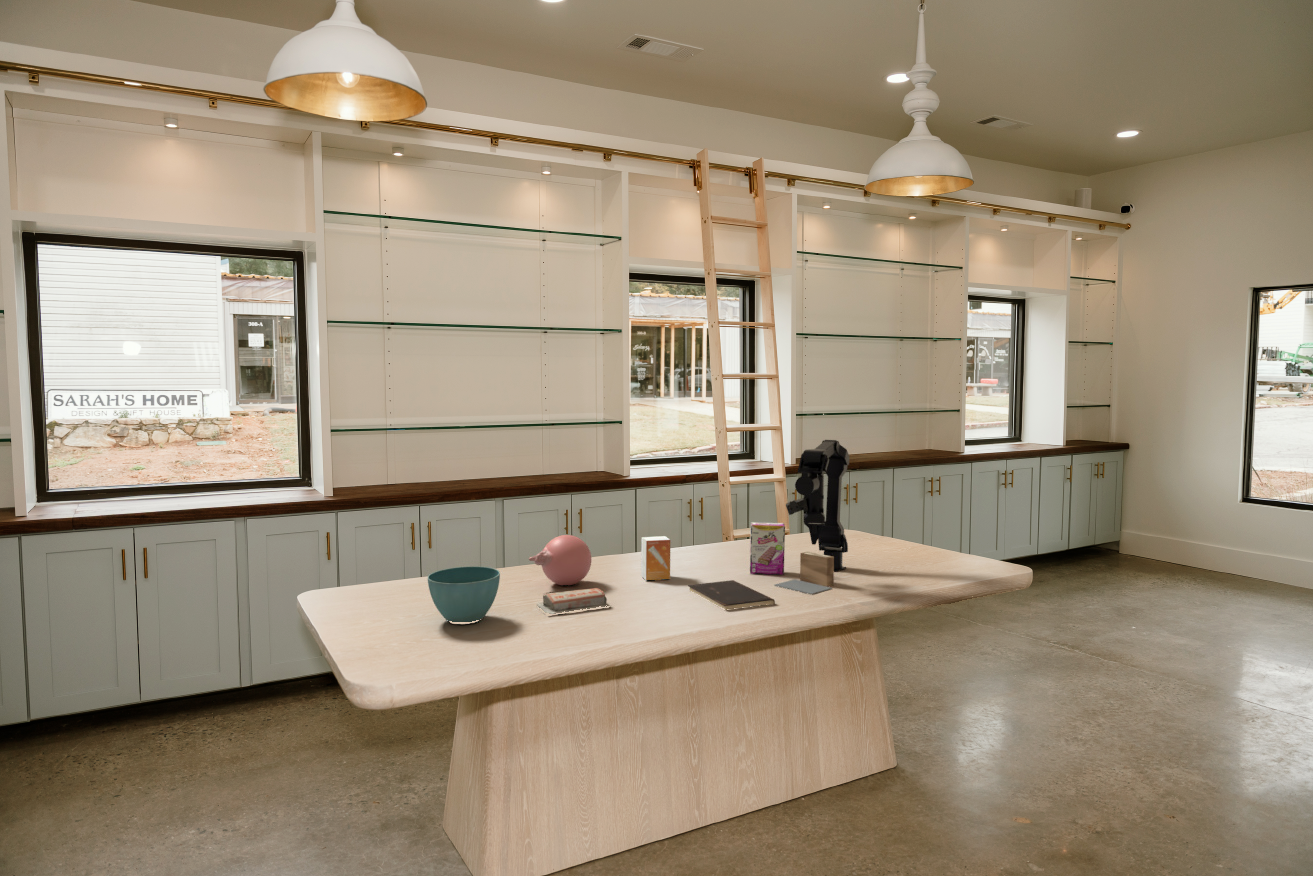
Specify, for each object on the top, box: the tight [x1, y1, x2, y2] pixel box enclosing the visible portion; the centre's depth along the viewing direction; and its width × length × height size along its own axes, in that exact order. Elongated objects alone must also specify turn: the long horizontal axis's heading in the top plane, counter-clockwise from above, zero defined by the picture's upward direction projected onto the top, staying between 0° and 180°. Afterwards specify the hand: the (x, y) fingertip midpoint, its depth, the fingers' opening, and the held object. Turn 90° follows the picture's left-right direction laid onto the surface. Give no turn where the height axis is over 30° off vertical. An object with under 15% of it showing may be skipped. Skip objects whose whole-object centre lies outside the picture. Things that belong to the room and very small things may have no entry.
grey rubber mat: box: [773, 579, 833, 595], centre depth 236 cm, size 10×14×1 cm
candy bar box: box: [749, 521, 786, 576], centre depth 253 cm, size 11×5×16 cm, turn 84°
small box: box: [640, 535, 671, 581], centre depth 246 cm, size 8×6×13 cm
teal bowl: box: [427, 565, 501, 622], centre depth 201 cm, size 18×18×12 cm
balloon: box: [528, 534, 592, 586], centre depth 237 cm, size 15×20×15 cm
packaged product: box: [536, 587, 610, 614], centre depth 213 cm, size 18×5×10 cm
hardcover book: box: [687, 579, 776, 611], centre depth 224 cm, size 16×23×2 cm
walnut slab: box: [799, 551, 835, 587], centre depth 240 cm, size 4×10×9 cm, turn 42°
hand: (813, 541), depth 238 cm, fingers open, 9 cm apart
